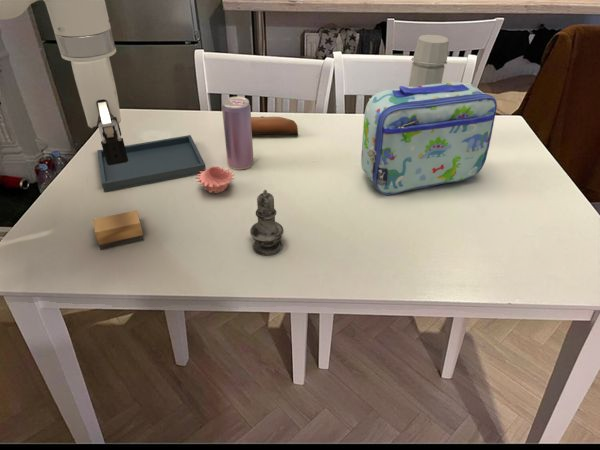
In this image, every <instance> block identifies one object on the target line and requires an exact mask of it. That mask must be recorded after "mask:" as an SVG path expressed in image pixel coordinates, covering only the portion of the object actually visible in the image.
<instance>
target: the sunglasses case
mask: <svg viewBox="0 0 600 450" xmlns="http://www.w3.org/2000/svg"><path fill="white" fill-rule="evenodd" d="M251 126H252V135H253V134H254V135H291V134H292V135H296V136H299V134H298V132H299V131H298V129H299V128H298V124H297V123H296V122H295V120H293V119H289V118H287V117H283V116H264V115H263V116H251Z"/></svg>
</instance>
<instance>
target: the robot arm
mask: <svg viewBox="0 0 600 450" xmlns="http://www.w3.org/2000/svg"><path fill="white" fill-rule="evenodd" d="M38 1H40V0H0V21H3V20H6V21H7V20H11V19H17V18H18V17H20V16H21V15H23V14H24V13H25V12H26V11H27V10H28V8H29V7H30V5H32V4H34V3H35V2H38ZM42 1H43V2H44V4H45V7H46V9H47V13H48V16H49V19H50V20H49V21H50V23H51V27H52V29H53V32H54V37H55V40H56V43H57V47H58V49H59V53H60V56H61V58H62V59H63V60H65V61H69V62H70V65H71V68H72V74H73V77H74V80H75V84H76V88H77V92H78V95H79V98H80V102H81V106H82V109H83V113H84V116H85V118H86V123H87V127H88V128H90V129H94V127H98V130H99V135H100V139H101V141H100V145H101V147H102V150H103V151H104V155H105V158H106V162H107V165H115V164H120V163H126V162H128V157H127V153H126V149H125V146H126V145H125V141H124V138H123V137H122V131H121V127H120V123H121V121H122V117H121V109H120V102H119V97H118V91H117V86H116V82H115V81H116V80H115V77H114V72H113V67H112V63H111V59H110V57H112V56H114V55H115V54H116V53H117V47H116V44H115V40H114V34H113V31H112V27H111V22H110V18H109V15H108V9H107V4H106V0H42Z"/></svg>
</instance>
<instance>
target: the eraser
mask: <svg viewBox="0 0 600 450" xmlns="http://www.w3.org/2000/svg"><path fill="white" fill-rule="evenodd" d="M93 227H94V235H95V237H96V241H97V243H98V247H99V249H100V251H103V250H107V249H111V248H117V247H120V246H125V245H130V244H133V243H137V242H142V241H143V242H144V241H145V236H144V233H143V229H142V224H141V221H140V217H139V213H138V210H137V209H136V210H131V211H126V212H120V213H117V214H110V215H106V216H102V217H97V218H93Z"/></svg>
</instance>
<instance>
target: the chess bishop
mask: <svg viewBox="0 0 600 450" xmlns="http://www.w3.org/2000/svg"><path fill="white" fill-rule="evenodd" d="M256 205H257V209H256V211H255V216H256V217H257V222H255V223H254V224H252V226H251V227H250V228H249V229H250V230H249V234H250V236H251V237H252V239H253V241H254V242H253V243H252V250H253V251H254V252H255V253H256V254H258V255H260V256H266V257H267V256H273V255H274V256H275V255H276V254H278V253H279V252H281V250H282V249H283V243H282V241H281V239H282V236H283V234H284V227H283V225H282V224H281V223H280V222H277V221H276V215H277V210H276V208H275V199H274V195H273V194H271V193H270V192H268V190H267V189H264V190H263V191H262V192H261V193H259V195H257V197H256Z"/></svg>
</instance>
